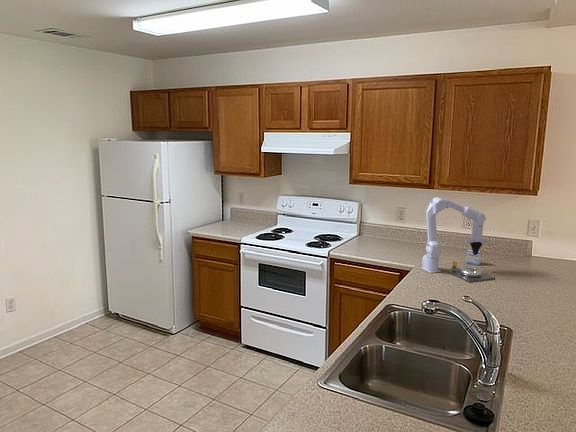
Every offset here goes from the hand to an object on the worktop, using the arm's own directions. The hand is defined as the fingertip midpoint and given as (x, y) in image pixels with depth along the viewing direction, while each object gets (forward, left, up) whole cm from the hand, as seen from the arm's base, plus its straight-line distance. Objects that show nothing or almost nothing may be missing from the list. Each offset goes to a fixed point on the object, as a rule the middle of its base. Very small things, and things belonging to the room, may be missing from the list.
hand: (475, 254), depth 262 cm
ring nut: (+4, -9, -9) cm, 13 cm away
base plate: (+7, -8, -10) cm, 15 cm away
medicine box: (-12, +10, -11) cm, 19 cm away
